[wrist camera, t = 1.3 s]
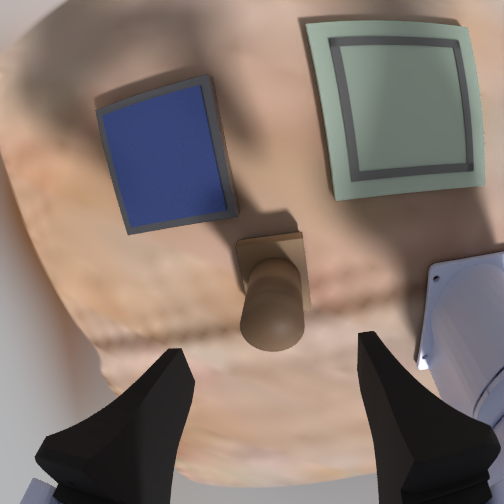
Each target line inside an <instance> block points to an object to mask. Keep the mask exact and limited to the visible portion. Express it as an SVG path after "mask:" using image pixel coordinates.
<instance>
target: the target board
mask: <svg viewBox="0 0 504 504" xmlns="http://www.w3.org/2000/svg"><path fill="white" fill-rule="evenodd" d="M305 28H306V32H307V37H308V41H309V46H310V50H311V55H312V60H313V65H314V70H315V75H316V80H317V85H318V91H319V96H320V102H321V108H322V114H323V120H324V126H325V133H326V139H327V146H328V153H329V160H330V168H331V175H332V184H333V192H334V199H335V201H341V200H349V199H358V198H366V197H375V196H384V195H393V194H402V193H412V192H422V191H432V190H443V189H454V188H465V187H478V186H485V145H484V128H483V116H482V106H481V98H480V90H479V83H478V76H477V70H476V64H475V59H474V54H473V49H472V44H471V40H470V35H469V31H468V27H462V26H454V25H446V24H437V23H426V22H412V21H387V20H362V21H336V22H322V23H310V24H306V26H305Z"/></svg>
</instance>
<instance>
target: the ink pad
mask: <svg viewBox="0 0 504 504" xmlns="http://www.w3.org/2000/svg"><path fill="white" fill-rule="evenodd" d="M95 111H96V115H97V120H98V125H99V129H100V134H101V138H102V143H103V147H104V151H105V155H106V159H107V163H108V167H109V171H110V175H111V179H112V182H113V186H114V190H115V193H116V197H117V200H118V204H119V207H120V211H121V214H122V217H123V221H124V224H125V227H126V230H127V234H128V235H132V234H138V233H143V232H149V231H155V230H160V229H166V228H172V227H178V226H184V225H190V224H196V223H202V222H208V221H215V220H221V219H227V218H234V217H238V215H239V212H240V210H239V205H238V200H237V196H236V191H235V186H234V181H233V176H232V171H231V166H230V161H229V157H228V152H227V147H226V142H225V137H224V132H223V127H222V122H221V117H220V112H219V108H218V103H217V98H216V93H215V88H214V83H213V78H212V76H210V75H204V76H200V77H196V78H192V79H188V80H185V81H181V82H177V83H174V84H170V85H167V86H164V87H160V88H157V89H154V90H151V91H147V92H144V93H141V94H138V95H135V96H132V97H130V98H127V99H124V100H121V101H118V102H116V103H113V104H110V105H108V106H105V107H102V108H100V109H97V110H95Z"/></svg>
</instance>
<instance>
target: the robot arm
mask: <svg viewBox="0 0 504 504" xmlns="http://www.w3.org/2000/svg"><path fill="white" fill-rule="evenodd" d="M435 276H437V278H436V279H435V280H433V278H434V277H435ZM424 355H425V356H424ZM417 368H418V369H419V370H424V369H428V368H429V369H430V372H431V374H432V377H433V379H434V381H435V384H436V386H437V389H438V391H439V394H440V396H441V399H442V400H441V399H439V398H438V397H437V396H435V395H434V394H433V393H431V392H430V391H429V390H428V389H426V388H425V387H424V386H423V385H422V384H421V383H419V382H418V381H417V380H416V379H415V378H414V377H413V376H412V375H411V374H410V373H409V372H408V371H407V370H406V369H405V368H404V367H403V366H402V365H401V364H400V362H399V361H398V360H397V359H396V358H395V357H394V356H393V355H392V353H391V352H390V351H389V350H388V348H387V347H386V346H385V345H384V343H383V342H382V341H381V340H380V338H379V337H378V335H377V334H376V333H375V332H374V331H369V332H362V333H358V363H357V371H358V378H359V384H360V391H361V395H362V399H363V402H364V406H365V410H366V414H367V417H368V421H369V425H370V429H371V433H372V437H373V442H374V450H375V458H376V467H377V478H378V492H379V504H504V251H503V252H498V253H492V254H487V255H481V256H476V257H470V258H464V259H458V260H452V261H446V262H440V263H435V264H433V265H431V267H430V268H429V272H428V285H427V295H426V305H425V313H424V321H423V328H422V335H421V342H420V348H419V354H418V359H417ZM194 386H195V380H194V378H193V375H192V373H191V371H190V368H189V366H188V363H187V361H186V358H185V356H184V353H183V351H182V348H173V349H168V350H167V351H166V352H164V353H163V354H162V355H161V357H160V358H159V359H158V360H157V361H156V362H155V363H154V364H153V365H152V366H151V367H150V368H149V369H148V370H147V371H146V372H145V373H144V374H143V375H142V376H141V377H140V378H139V379H138V380H137V381H136V382H135V383H134V384H132V385H131V386H130V387H129V388H128V389H127V390H126V391H125V392H124V393H123V394H121V395H120V396H119V397H118V398H117V399H115V400H114V401H113V402H111V403H110V404H109V405H107V406H106V407H105V408H103V409H102V410H100V411H98V412H97V413H95V414H94V415H92V416H90V417H89V418H88V419H85V420H84V421H82V422H80V423H78V424H76V425H74V426H72V427H70V428H68V429H65V430H63V431H60V432H58V433H55V434H52V435H50V436H46V438H45V440H44V441H43V443H42V445H41V447H40V448H39V450H38V452H37V454H36V456H35V460H36V462H37V464H38V465H39V466H40V467H41V468H42V469H43V470H44V471H45V472H46V473H47V474H48V475H50V476H51V477H52V478H53V479H54V480H55V481H56V482H57V483H59V484H58V486H57V488H55V487H53V486H52V485H50V484H48V483H45V482H43V481H41V480H38V479H36V478H33V479H32V481H31V483H30V485H29V487H28V489H27V491H26V493H25V495H24V497H23V499H22V501H21V503H20V504H170V497H171V486H172V479H173V471H174V465H175V459H176V454H177V449H178V445H179V442H180V439H181V435H182V432H183V429H184V426H185V423H186V420H187V416H188V413H189V410H190V407H191V403H192V398H193V393H194Z"/></svg>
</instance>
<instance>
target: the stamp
mask: <svg viewBox="0 0 504 504" xmlns="http://www.w3.org/2000/svg"><path fill="white" fill-rule="evenodd" d="M235 249H236V253H237V258H238V262H239V267H240V271H241V275H242V280H243V284H244V289H245V293H246V297H245V302H244V307H243V312H242V317H241V322H240V330H241V333H242V335H243V337H244V338H245V340H246V341H247V342H248V343H249V344H250V345H252V346H254V347H255V348H257V349H260V350H264V351H270V352H277V351H282V350H286V349H288V348H290V347H292V346H294V345H295V344H296V343H298V341H299V340H300V339H301V337H302V336H303V333H304V311H311V310H312V308H311V299H310V290H309V282H308V273H307V265H306V257H305V249H304V242H303V234H302V232H292V233H285V234H278V235H270V236H263V237H255V238H248V239H242V240H238V241H237V244H236V246H235Z"/></svg>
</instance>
